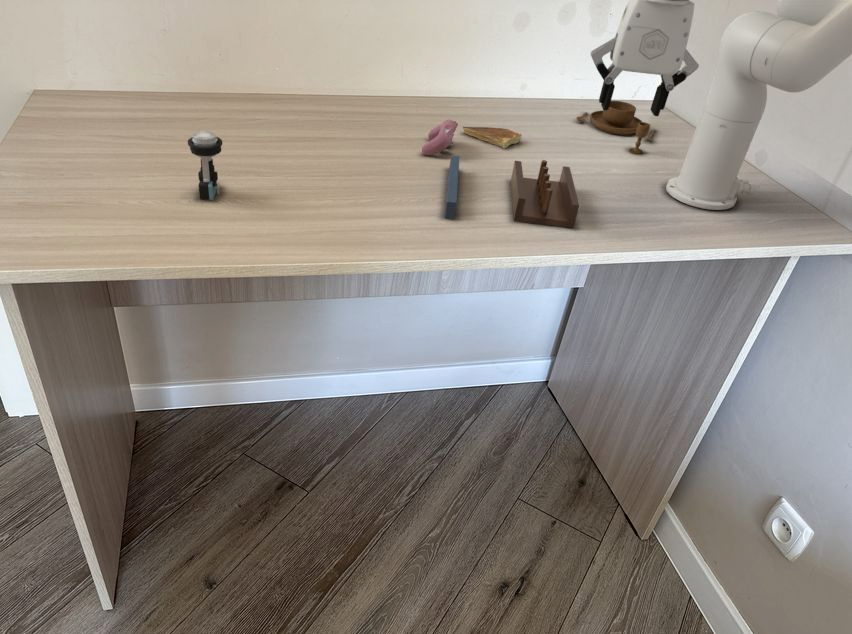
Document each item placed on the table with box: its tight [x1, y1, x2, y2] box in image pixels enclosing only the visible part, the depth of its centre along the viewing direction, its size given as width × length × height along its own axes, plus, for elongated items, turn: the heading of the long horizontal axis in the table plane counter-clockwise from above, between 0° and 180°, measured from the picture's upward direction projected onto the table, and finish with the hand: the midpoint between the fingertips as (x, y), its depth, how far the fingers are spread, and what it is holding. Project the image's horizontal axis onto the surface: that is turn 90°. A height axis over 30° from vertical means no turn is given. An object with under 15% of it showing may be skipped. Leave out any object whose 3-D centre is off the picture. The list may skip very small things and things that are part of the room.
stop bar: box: [444, 154, 460, 220], centre depth 121 cm, size 2×20×3 cm, turn 174°
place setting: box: [576, 100, 656, 155], centre depth 152 cm, size 18×20×6 cm
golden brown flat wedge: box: [462, 126, 523, 150], centre depth 145 cm, size 11×8×2 cm
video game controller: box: [421, 118, 459, 156], centre depth 136 cm, size 10×5×7 cm, turn 168°
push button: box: [187, 130, 223, 201], centre depth 112 cm, size 7×5×10 cm
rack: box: [510, 159, 581, 229], centre depth 120 cm, size 10×16×6 cm, turn 174°
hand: (629, 109), depth 110 cm, fingers open, 7 cm apart
